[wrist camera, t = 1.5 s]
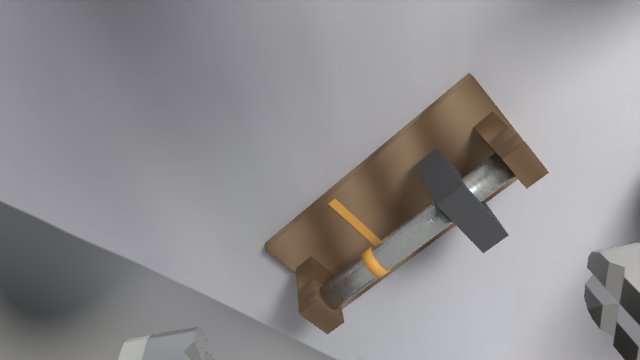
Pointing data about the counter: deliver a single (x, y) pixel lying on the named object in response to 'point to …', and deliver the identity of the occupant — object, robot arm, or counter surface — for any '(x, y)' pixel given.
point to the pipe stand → (398, 201)
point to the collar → (460, 201)
